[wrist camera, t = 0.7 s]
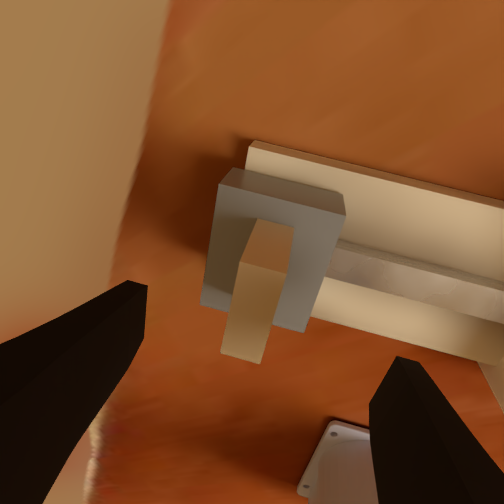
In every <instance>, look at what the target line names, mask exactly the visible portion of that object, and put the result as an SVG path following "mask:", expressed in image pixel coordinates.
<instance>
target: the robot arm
mask: <svg viewBox="0 0 504 504" xmlns="http://www.w3.org/2000/svg"><path fill="white" fill-rule="evenodd" d="M147 289H148V286H147V285H144V284H140V283H136V282H133V281H129V280H127V281H125V282H123V283H121V284H119V285H117V286H115V287H114V288H112V289H110V290H108V291H106V292H104V293H103V294H101V295H99V296H97V297H95V298H93V299H92V300H90V301H88V302H86V303H84V304H82V305H81V306H79V307H77V308H75V309H73V310H71V311H69V312H67V313H65V314H63V315H61V316H60V317H58V318H56V319H53V320H51V321H49V322H47V323H45V324H43V325H41V326H39V327H37V328H35V329H33V330H30V331H29V332H26V333H24V334H22V335H20V336H18V337H16V338H13V339H11V340H9V341H6V342H4V343H2V344H0V504H42V503H43V502H44V500H45V498H46V496H47V494H48V493H49V491H50V489H51V487H52V485H53V484H54V482H55V480H56V479H57V477H58V475H59V473H60V471H61V470H62V468H63V466H64V464H65V463H66V461H67V459H68V457H69V456H70V454H71V452H72V451H73V449H74V448H75V446H76V444H77V443H78V441H79V440H80V438H81V437H82V435H83V434H84V433H85V431H86V430H87V428H88V427H89V425H90V424H91V422H92V421H93V419H94V418H95V417H96V415H97V414H98V412H99V411H100V409H101V408H102V406H103V405H104V403H105V402H106V401H107V399H108V398H109V396H110V395H111V393H112V392H113V390H114V389H115V387H116V386H117V384H118V383H119V381H120V380H121V378H122V377H123V375H124V374H125V372H126V371H127V369H128V368H129V366H130V364H131V362H132V360H133V358H134V356H135V355H136V353H137V351H138V349H139V347H140V345H141V343H142V341H143V339H144V329H145V316H146V302H147ZM297 493H298V494H299V495H300V496H303V497H307V498H308V504H504V473H503V472H502V471H501V470H500V468H499V467H498V466H497V465H496V463H495V462H494V461H493V460H492V459H491V457H490V456H489V455H488V453H487V452H486V451H485V450H484V448H483V447H482V446H481V445H480V443H479V442H478V441H477V439H476V438H475V437H474V435H473V434H472V433H471V432H470V430H469V429H468V428H467V426H466V425H465V424H464V422H463V421H462V420H461V418H460V417H459V415H458V414H457V413H456V411H455V410H454V409H453V407H452V406H451V405H450V403H449V402H448V400H447V399H446V398H445V396H444V395H443V394H442V392H441V391H440V390H439V388H438V387H437V385H436V384H435V383H434V381H433V380H432V379H431V377H430V376H429V375H428V373H427V372H426V371H425V369H424V368H423V367H422V365H421V364H420V363H419V362H417V361H413V360H410V359H406V358H402V357H399V356H396V358H395V360H394V361H393V363H392V365H391V367H390V368H389V370H388V372H387V374H386V375H385V377H384V379H383V380H382V382H381V384H380V386H379V387H378V389H377V391H376V393H375V394H374V396H373V398H372V399H371V401H370V403H369V430H368V429H365V428H361V427H358V426H354V425H351V424H347V423H344V422H340V421H336V420H334V421H331V422H330V423H329V424H328V426H327V428H326V430H325V432H324V434H323V436H322V438H321V440H320V442H319V444H318V446H317V448H316V450H315V452H314V454H313V456H312V458H311V460H310V462H309V464H308V466H307V468H306V470H305V472H304V474H303V476H302V478H301V480H300V482H299V484H298V486H297Z"/></svg>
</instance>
